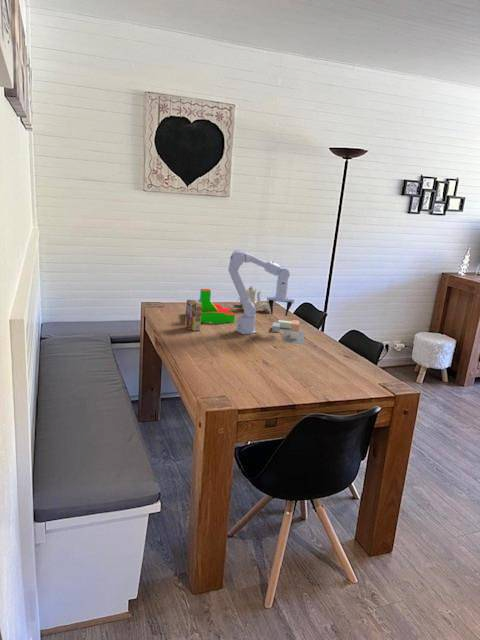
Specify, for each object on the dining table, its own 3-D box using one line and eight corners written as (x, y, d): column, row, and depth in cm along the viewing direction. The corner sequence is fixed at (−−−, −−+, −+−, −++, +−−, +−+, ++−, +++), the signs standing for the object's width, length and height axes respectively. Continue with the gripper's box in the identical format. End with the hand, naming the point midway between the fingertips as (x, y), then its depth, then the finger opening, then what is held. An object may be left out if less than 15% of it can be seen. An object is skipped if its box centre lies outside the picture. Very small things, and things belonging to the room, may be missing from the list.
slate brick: (279, 333, 259) (279, 326, 258) (271, 333, 259) (272, 325, 258) (279, 329, 266) (280, 322, 265) (272, 328, 267) (273, 322, 266)
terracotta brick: (298, 332, 248) (299, 324, 247) (290, 331, 248) (291, 323, 247) (298, 327, 255) (299, 320, 254) (290, 327, 256) (291, 319, 255)
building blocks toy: (234, 324, 270) (237, 292, 265) (190, 323, 265) (192, 291, 260) (229, 315, 288) (231, 285, 283) (187, 314, 282) (189, 284, 277)
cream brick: (297, 339, 249) (298, 332, 248) (290, 338, 249) (290, 331, 248) (297, 334, 257) (298, 327, 256) (290, 334, 257) (291, 327, 256)
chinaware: (276, 314, 305) (280, 288, 302) (264, 316, 291) (268, 289, 288) (240, 306, 319) (243, 281, 316) (226, 307, 305) (230, 281, 302)
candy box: (200, 330, 252) (202, 302, 248) (194, 331, 249) (195, 303, 245) (191, 326, 258) (193, 298, 254) (184, 327, 256) (186, 299, 252)
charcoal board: (304, 345, 242) (304, 344, 242) (282, 342, 243) (283, 341, 243) (303, 333, 263) (303, 331, 263) (283, 330, 264) (284, 329, 264)
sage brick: (291, 328, 271) (292, 321, 270) (291, 330, 267) (292, 323, 266) (277, 326, 272) (278, 320, 271) (277, 328, 268) (278, 321, 267)
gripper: (267, 290, 249) (265, 315, 252) (295, 293, 248) (292, 318, 251) (268, 287, 256) (265, 312, 259) (295, 290, 254) (292, 314, 258)
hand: (278, 314), depth 256 cm, fingers open, 7 cm apart
